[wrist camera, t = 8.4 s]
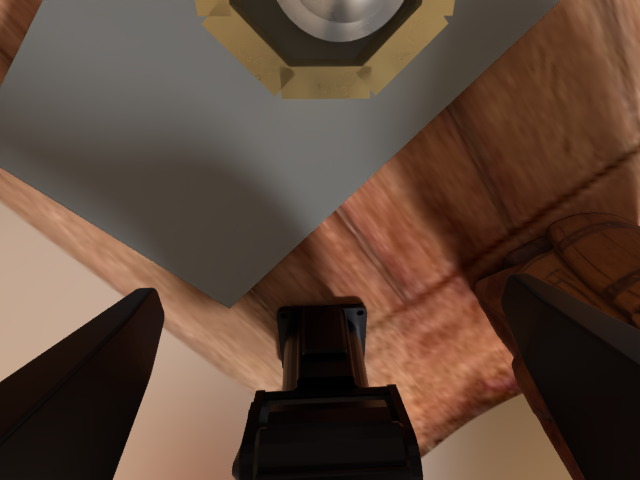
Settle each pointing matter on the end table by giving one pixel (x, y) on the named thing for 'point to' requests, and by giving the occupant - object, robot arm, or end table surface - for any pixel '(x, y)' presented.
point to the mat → (216, 127)
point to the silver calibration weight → (340, 17)
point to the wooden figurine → (571, 289)
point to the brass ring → (326, 74)
